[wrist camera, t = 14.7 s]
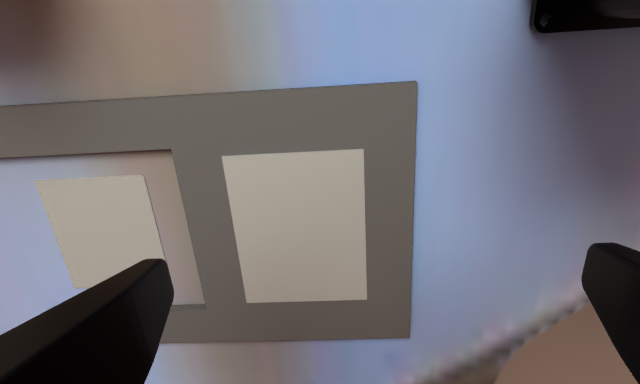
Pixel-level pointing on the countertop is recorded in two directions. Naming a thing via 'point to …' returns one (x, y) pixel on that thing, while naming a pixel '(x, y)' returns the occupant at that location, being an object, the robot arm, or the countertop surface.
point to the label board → (247, 204)
